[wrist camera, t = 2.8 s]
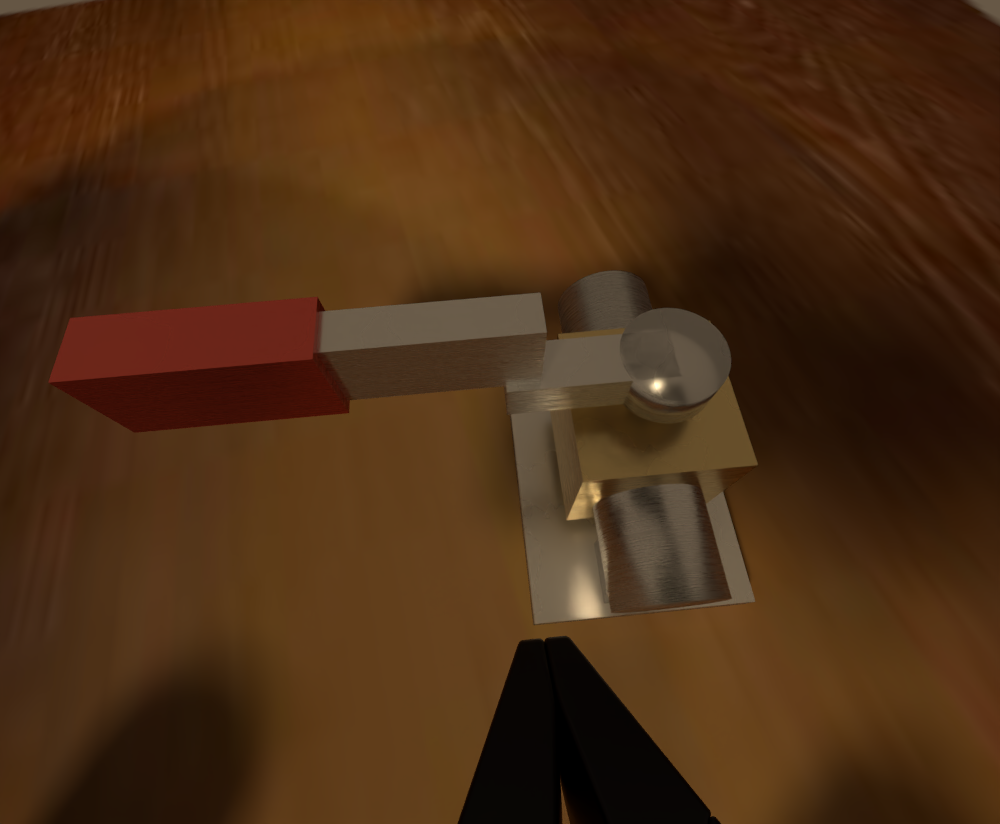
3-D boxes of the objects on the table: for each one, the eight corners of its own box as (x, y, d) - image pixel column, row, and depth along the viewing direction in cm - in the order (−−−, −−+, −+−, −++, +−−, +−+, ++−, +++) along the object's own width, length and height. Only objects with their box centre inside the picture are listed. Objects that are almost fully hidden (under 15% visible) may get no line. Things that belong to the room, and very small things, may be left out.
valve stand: (742, 603, 21) (877, 577, 14) (533, 625, 21) (546, 610, 13) (670, 347, 27) (735, 223, 19) (504, 362, 27) (501, 242, 19)
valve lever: (724, 418, 15) (795, 341, 11) (159, 471, 15) (39, 410, 11) (697, 331, 17) (752, 237, 13) (178, 377, 16) (78, 295, 12)
